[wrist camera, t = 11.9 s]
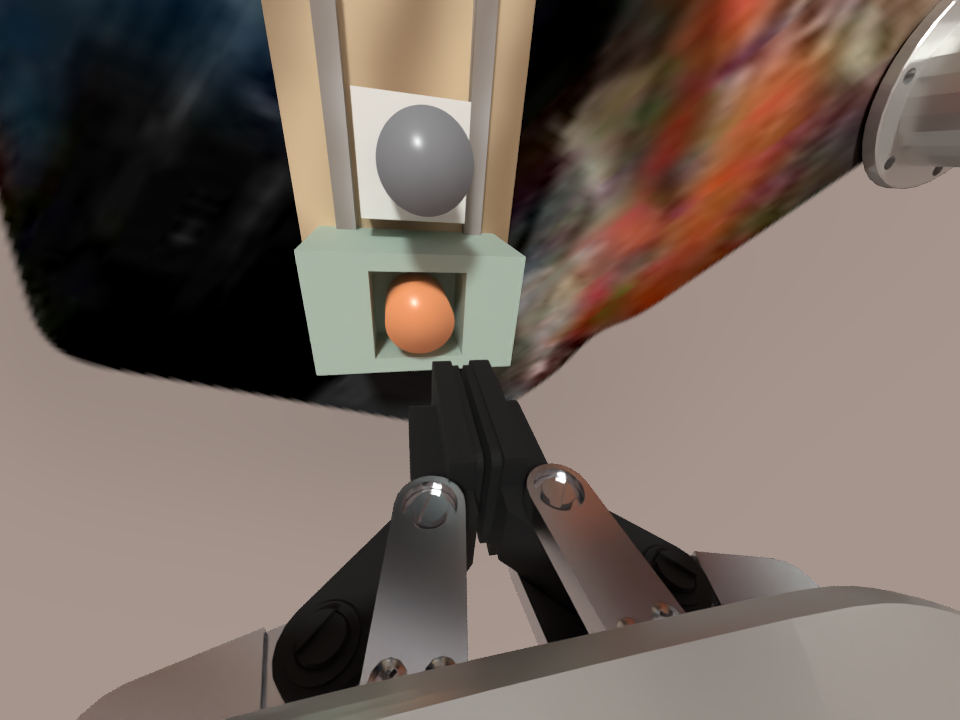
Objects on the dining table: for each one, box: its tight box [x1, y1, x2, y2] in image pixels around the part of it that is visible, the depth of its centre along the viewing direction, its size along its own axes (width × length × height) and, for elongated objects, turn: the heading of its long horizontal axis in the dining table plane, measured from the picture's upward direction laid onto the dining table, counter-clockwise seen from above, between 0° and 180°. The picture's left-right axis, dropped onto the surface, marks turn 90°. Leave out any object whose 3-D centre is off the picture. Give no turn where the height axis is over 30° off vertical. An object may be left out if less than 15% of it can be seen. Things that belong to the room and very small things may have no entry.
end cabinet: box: [294, 226, 526, 375], centre depth 20 cm, size 10×6×8 cm, turn 86°
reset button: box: [385, 272, 455, 353], centre depth 17 cm, size 3×3×3 cm
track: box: [261, 0, 536, 243], centre depth 17 cm, size 12×22×4 cm, turn 176°
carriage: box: [350, 85, 474, 224], centre depth 14 cm, size 5×5×9 cm
